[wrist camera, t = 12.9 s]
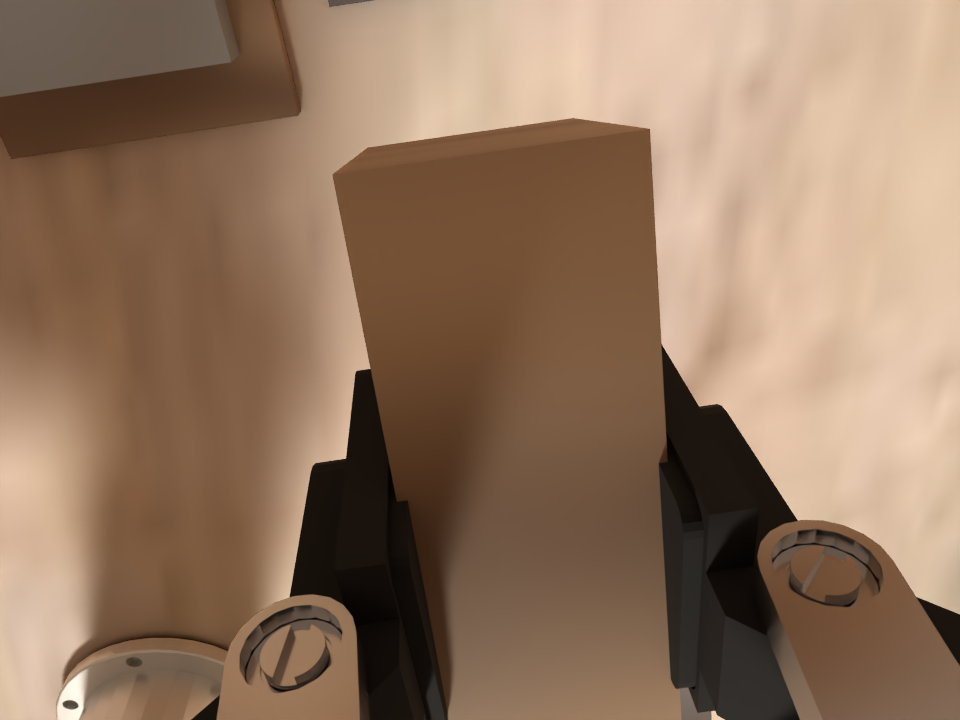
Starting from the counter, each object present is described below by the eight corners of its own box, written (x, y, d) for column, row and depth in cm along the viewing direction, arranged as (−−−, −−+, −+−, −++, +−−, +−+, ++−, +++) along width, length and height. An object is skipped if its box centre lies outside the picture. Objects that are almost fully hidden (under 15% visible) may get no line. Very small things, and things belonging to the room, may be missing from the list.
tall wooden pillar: (705, 808, 15) (792, 1036, 12) (420, 851, 15) (416, 1095, 12) (676, 103, 11) (806, 106, 7) (264, 163, 11) (172, 197, 7)
